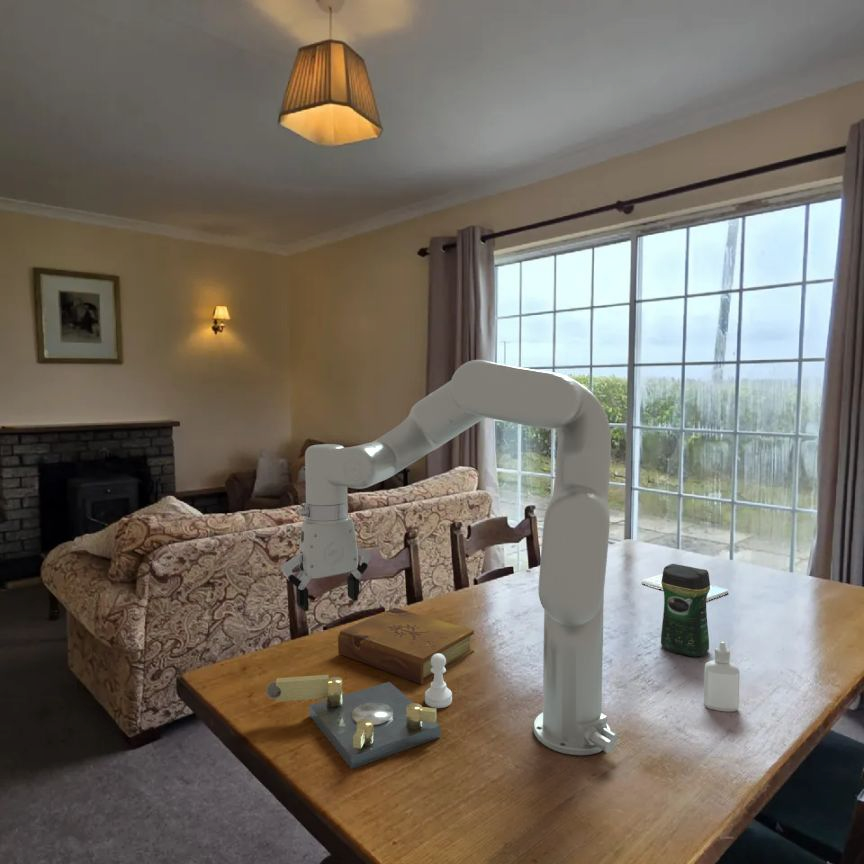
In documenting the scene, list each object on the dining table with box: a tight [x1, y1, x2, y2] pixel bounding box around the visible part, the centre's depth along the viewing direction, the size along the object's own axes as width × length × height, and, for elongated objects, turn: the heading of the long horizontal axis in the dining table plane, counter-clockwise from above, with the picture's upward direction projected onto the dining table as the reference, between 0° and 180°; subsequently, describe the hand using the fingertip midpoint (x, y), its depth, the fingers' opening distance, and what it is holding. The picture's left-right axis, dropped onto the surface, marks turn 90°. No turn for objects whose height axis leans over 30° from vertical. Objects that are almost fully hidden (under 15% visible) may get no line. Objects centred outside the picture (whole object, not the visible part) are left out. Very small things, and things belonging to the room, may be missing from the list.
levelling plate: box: [308, 681, 441, 770], centre depth 104 cm, size 18×16×5 cm
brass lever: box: [265, 674, 344, 707], centre depth 107 cm, size 13×3×5 cm, turn 98°
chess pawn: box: [424, 653, 453, 709], centre depth 112 cm, size 5×5×9 cm
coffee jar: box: [660, 563, 711, 658], centre depth 134 cm, size 10×8×19 cm
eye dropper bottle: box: [703, 641, 740, 713], centre depth 110 cm, size 4×6×12 cm
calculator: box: [641, 573, 729, 602], centre depth 175 cm, size 13×20×2 cm, turn 35°
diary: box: [337, 607, 475, 685], centre depth 133 cm, size 23×19×6 cm
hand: (328, 603), depth 112 cm, fingers open, 9 cm apart
